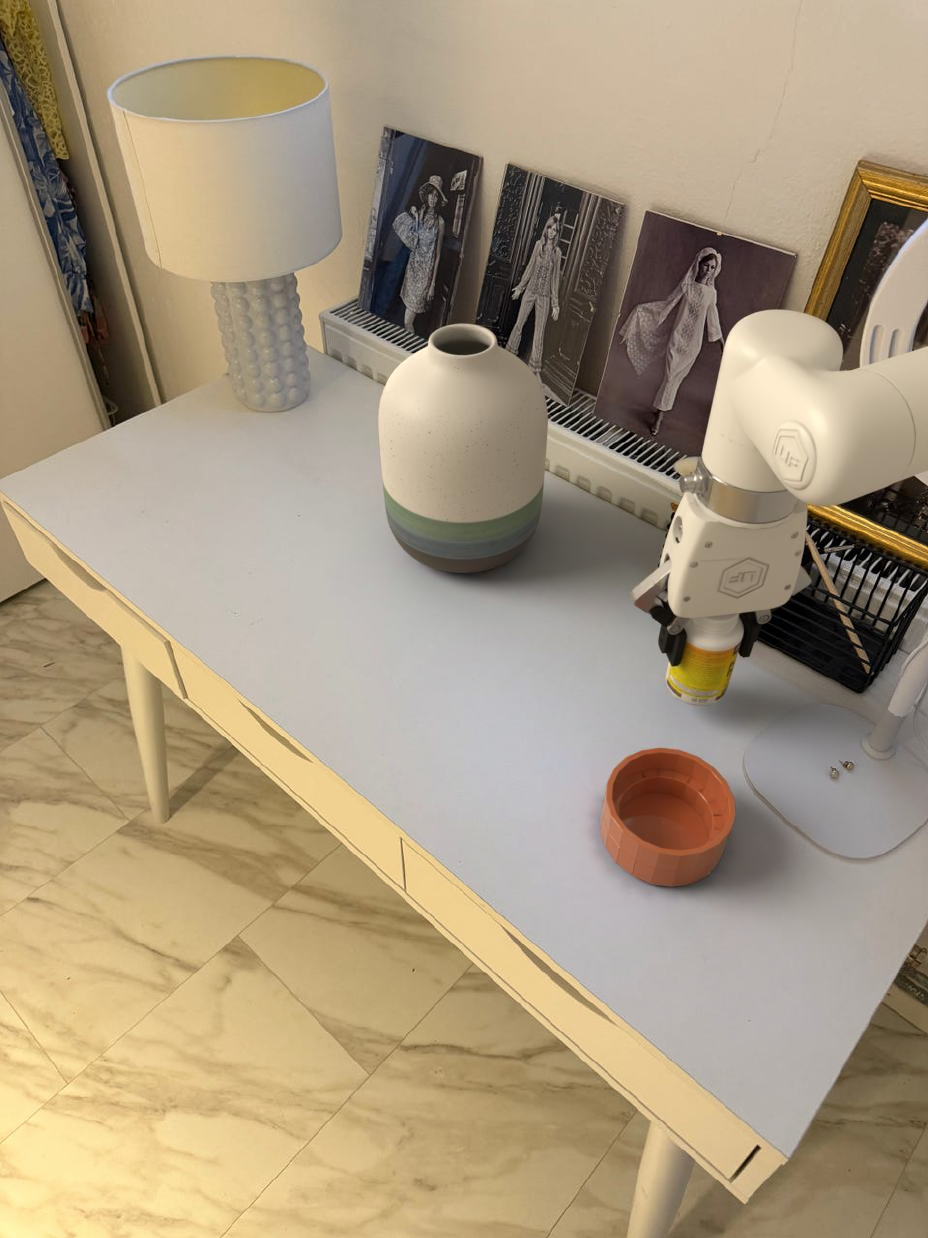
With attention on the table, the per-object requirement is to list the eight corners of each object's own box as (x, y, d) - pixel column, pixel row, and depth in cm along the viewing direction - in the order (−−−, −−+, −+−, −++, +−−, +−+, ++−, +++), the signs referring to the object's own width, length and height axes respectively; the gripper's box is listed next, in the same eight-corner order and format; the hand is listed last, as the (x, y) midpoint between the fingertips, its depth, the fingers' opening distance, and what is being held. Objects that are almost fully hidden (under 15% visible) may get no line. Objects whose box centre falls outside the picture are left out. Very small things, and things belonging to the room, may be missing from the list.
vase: (551, 584, 98) (568, 381, 81) (390, 595, 97) (374, 392, 80) (527, 487, 110) (538, 293, 93) (384, 496, 109) (369, 301, 92)
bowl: (741, 879, 74) (755, 845, 70) (619, 897, 73) (626, 864, 69) (698, 776, 81) (709, 740, 77) (586, 791, 80) (592, 756, 76)
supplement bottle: (727, 712, 83) (752, 631, 75) (664, 705, 83) (682, 624, 76) (725, 666, 86) (748, 585, 79) (664, 659, 87) (682, 579, 80)
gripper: (651, 526, 65) (621, 695, 78) (881, 501, 67) (815, 670, 80) (621, 464, 70) (598, 631, 83) (835, 442, 72) (780, 609, 85)
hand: (705, 648), depth 81 cm, fingers closed on supplement bottle, 5 cm apart
